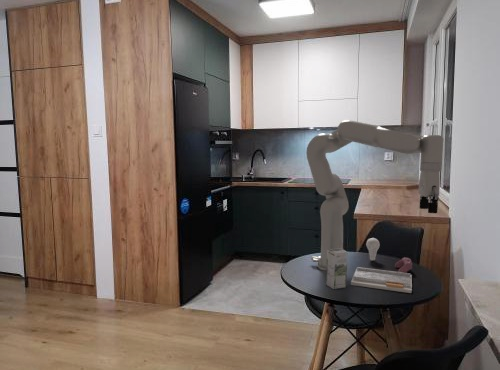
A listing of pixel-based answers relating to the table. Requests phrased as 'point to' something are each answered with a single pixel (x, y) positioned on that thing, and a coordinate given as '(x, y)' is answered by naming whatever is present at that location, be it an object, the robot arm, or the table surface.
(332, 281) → the syrup box
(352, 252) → the table surface
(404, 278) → the metal tray
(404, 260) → the video game controller
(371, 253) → the lightbulb
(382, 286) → the mounting plate
